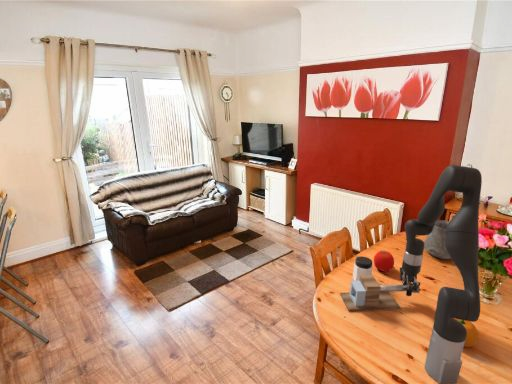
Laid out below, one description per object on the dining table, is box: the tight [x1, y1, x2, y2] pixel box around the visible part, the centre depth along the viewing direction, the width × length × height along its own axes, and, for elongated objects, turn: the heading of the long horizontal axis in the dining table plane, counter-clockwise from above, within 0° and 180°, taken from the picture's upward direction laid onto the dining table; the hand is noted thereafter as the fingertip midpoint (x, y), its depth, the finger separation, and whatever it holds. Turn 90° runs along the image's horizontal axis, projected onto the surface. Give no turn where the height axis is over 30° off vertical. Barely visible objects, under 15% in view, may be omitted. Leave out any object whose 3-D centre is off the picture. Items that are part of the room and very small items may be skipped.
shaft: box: [379, 284, 421, 294], centre depth 138 cm, size 24×5×5 cm, turn 93°
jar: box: [352, 255, 373, 281], centre depth 154 cm, size 9×8×12 cm
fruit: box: [454, 318, 480, 348], centre depth 116 cm, size 12×12×10 cm
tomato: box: [373, 250, 395, 272], centre depth 164 cm, size 10×11×11 cm
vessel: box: [423, 219, 452, 260], centre depth 178 cm, size 22×22×20 cm
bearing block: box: [339, 275, 402, 312], centre depth 138 cm, size 12×24×12 cm, turn 93°
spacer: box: [349, 280, 366, 306], centre depth 137 cm, size 8×4×8 cm, turn 3°
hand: (406, 293), depth 139 cm, fingers closed on shaft, 3 cm apart
